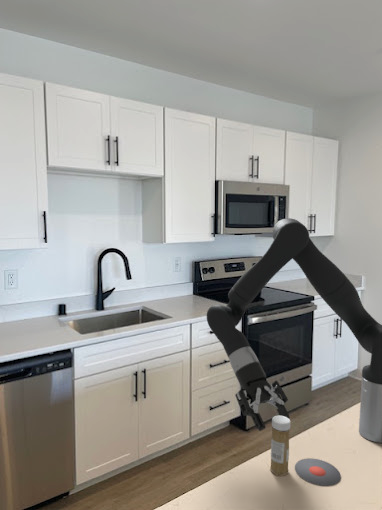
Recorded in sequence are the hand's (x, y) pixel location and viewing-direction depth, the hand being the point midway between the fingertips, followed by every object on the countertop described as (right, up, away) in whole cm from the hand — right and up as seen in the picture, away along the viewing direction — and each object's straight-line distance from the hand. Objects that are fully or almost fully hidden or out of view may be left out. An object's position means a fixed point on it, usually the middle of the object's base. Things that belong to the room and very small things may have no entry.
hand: (275, 425), depth 98 cm
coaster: (+10, -11, -1) cm, 15 cm away
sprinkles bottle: (+1, -11, -1) cm, 11 cm away
